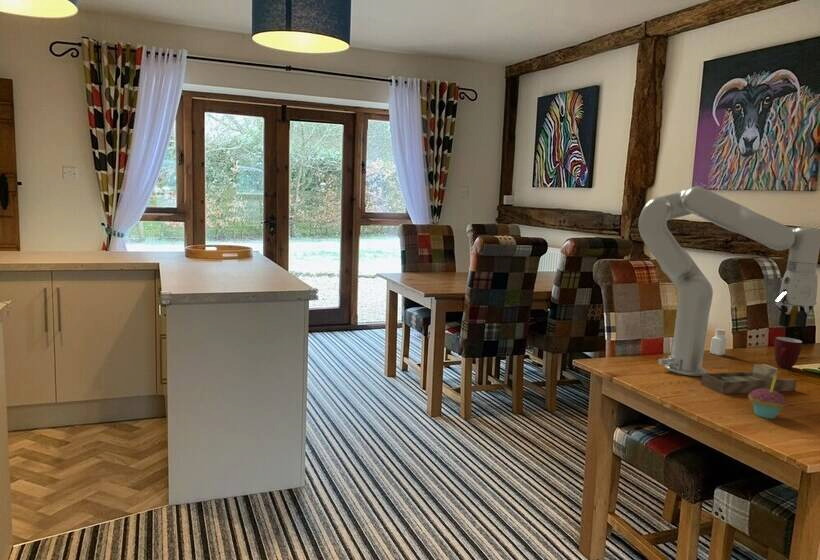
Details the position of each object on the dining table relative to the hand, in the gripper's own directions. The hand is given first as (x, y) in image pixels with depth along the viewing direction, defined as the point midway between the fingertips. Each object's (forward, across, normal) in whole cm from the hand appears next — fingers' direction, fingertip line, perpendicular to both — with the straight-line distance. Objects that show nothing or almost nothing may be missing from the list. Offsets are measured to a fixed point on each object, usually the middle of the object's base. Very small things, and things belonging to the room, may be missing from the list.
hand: (792, 325), depth 184 cm
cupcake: (+20, -29, -21) cm, 41 cm away
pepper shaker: (+20, +8, +36) cm, 41 cm away
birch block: (+17, -8, 0) cm, 19 cm away
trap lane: (+20, -14, 0) cm, 24 cm away
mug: (+20, +20, +18) cm, 33 cm away
